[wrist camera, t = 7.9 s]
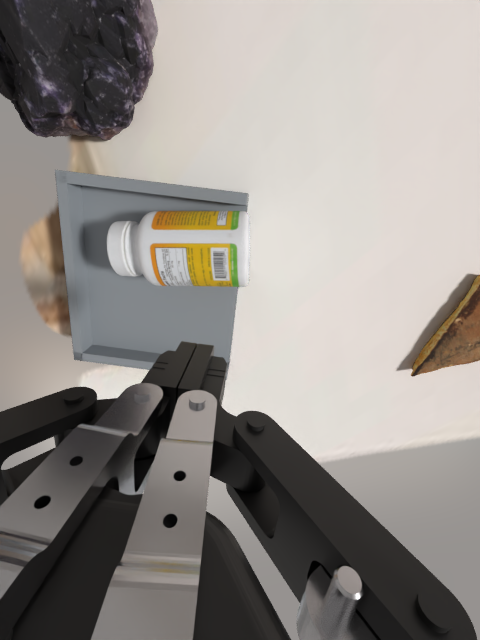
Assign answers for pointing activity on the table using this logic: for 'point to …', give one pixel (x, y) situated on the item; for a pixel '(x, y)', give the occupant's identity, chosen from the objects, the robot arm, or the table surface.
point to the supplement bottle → (183, 248)
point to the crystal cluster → (76, 63)
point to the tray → (136, 292)
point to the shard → (454, 337)
